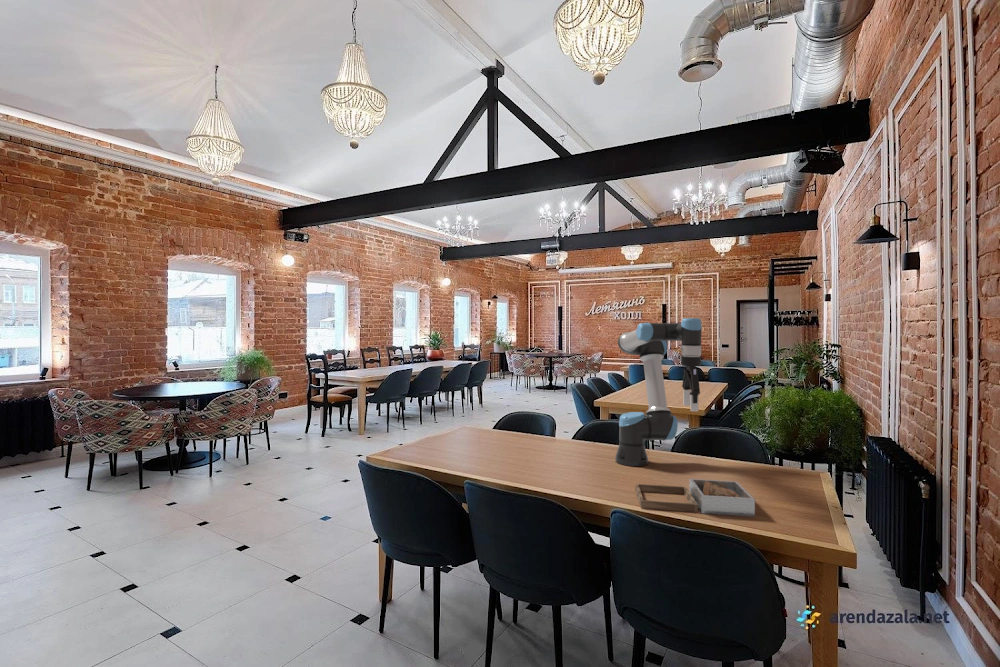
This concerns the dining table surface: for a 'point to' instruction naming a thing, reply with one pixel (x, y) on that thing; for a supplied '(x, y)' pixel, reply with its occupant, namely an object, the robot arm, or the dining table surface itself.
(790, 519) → the dining table surface
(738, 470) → the dining table surface
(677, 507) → the frame
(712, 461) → the dining table surface
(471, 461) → the dining table surface
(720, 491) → the stone
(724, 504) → the bin
